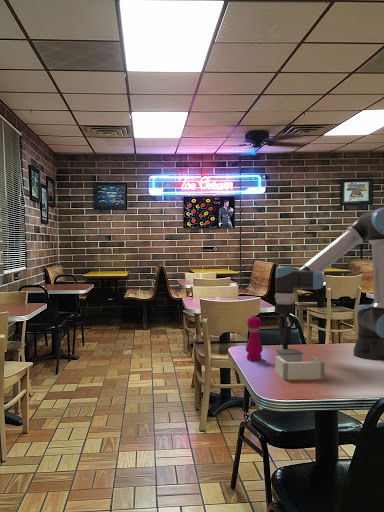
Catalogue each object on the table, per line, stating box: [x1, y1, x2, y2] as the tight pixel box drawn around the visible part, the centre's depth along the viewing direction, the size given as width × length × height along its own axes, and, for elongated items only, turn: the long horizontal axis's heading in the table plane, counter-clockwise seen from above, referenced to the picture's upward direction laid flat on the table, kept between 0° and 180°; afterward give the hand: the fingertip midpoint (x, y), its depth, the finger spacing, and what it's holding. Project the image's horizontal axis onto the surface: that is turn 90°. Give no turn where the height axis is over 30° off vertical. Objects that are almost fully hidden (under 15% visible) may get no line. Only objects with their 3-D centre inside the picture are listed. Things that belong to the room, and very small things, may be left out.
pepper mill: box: [245, 312, 263, 362], centre depth 184 cm, size 7×7×20 cm
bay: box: [274, 354, 326, 381], centre depth 158 cm, size 15×12×6 cm
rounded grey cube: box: [276, 348, 304, 362], centre depth 170 cm, size 8×7×7 cm
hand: (284, 359), depth 176 cm, fingers closed
